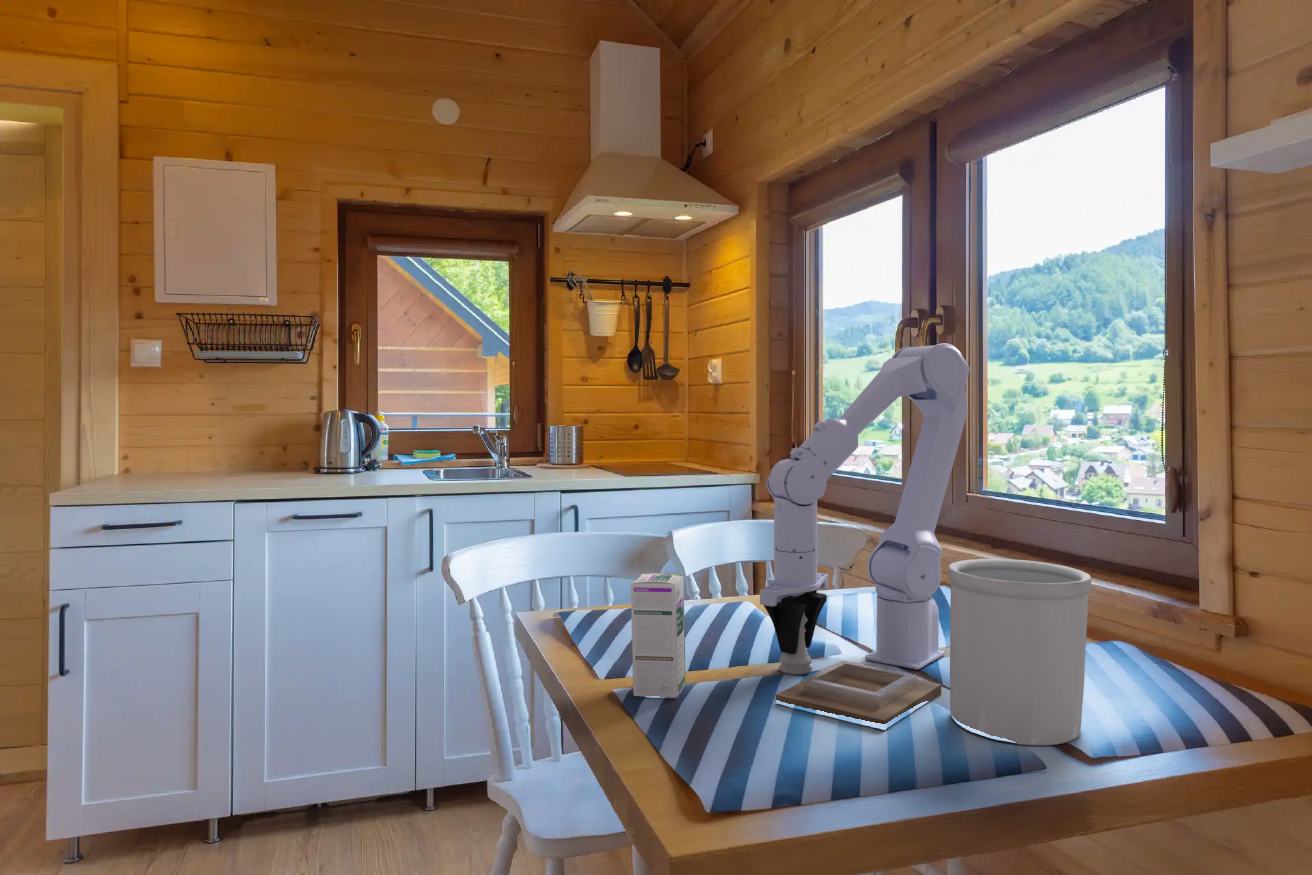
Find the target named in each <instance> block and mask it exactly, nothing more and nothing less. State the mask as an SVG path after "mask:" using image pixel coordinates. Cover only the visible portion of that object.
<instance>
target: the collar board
mask: <svg viewBox="0 0 1312 875" xmlns="http://www.w3.org/2000/svg"><path fill="white" fill-rule="evenodd" d="M941 695H942V683H937V682H933V681H927V680H922V679H918V678H917V674H911V673H907V672H902V671H897V670H892V669H888V668H882V667H878V666H872V665H867V664H862V663H856V662H852V661H847V660H840V661H838V662H837V663H834V664H832V665H830V666H828V667H826V668H824V669H821V670H819V671H817V672H815V673H813V674H811V675H809V676H807V677H805V678H803V679H802V681H801V682H799V683H797V684H794V685H792V686H791V687H788V688H786V689H784V690H782V691H781V692H778V693H776V694H775V701H776V700H779V701H781V702H785V703H788V704H794V705H796V706H801V707H804V708H809V709H810V708H811V709H813V710H820V711H824V712H827V713H832V714H833V713H834V714H836V715H844V716H846V717H852V718H855V719H861V720H865V721H870V722H875V723H881V724H886V723H888V722H889V721H891V720H892V719H894V718H895V717H898V715H901V714H902V713H904V712H906V711H907V710H909V709H911V708H913V707H914V706H916V705H918V704H920V703H922V702H925V701H929V702H928V703H930V702H931V701H933V700H934V699H936V698H937V697H939V696H941Z"/></svg>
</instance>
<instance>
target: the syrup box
mask: <svg viewBox="0 0 1312 875" xmlns="http://www.w3.org/2000/svg"><path fill="white" fill-rule="evenodd" d="M684 585H685V584H684V576H683V575H682V574H678V573H677V574H676V573H669V572H668V573H666V572H661V573H659V572H655V573H654V572H653V573H641V574H640V576H639V577H638V578H636V579H634V581H633V582H631V583H630V606H631V608H630V610H631V611H630V612H631V613H630V614H631V651H632V653H631V655H632V656H631V657H632V690H633V691H632V692H633V693H632V694H633V696H634V697H635V696H637V697H636V698H639V697H638V696H643V697H644V696H660V697H676V696H678V695H679V693H680V694H682V692H681V691H683V690H682V689H684V688H685V687H686V685H687V683H686V681H687V680H686V678H687V677H686V674H687V673H686V634H685V633H686V632H685V595H684V594H685V593H684V592H685V591H684V590H685V589H684V588H685V586H684ZM683 687H684V688H683ZM679 696H680V695H679ZM679 696H678V697H679Z"/></svg>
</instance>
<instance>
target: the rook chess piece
mask: <svg viewBox="0 0 1312 875" xmlns="http://www.w3.org/2000/svg"><path fill="white" fill-rule="evenodd" d="M807 621H808V619H807V617H806V616H805V612H804V614H803V617H802V620H801V624H800V629H799V640H798V648H797V652H796V653H795V654H789V653H784V652H782V654H781V655H780V657H779V662H780V664H779V665H778V668H779V670H780V671H781V672H782V673H783V674H785V675H790V676H802V675H801V674H805V675H807V673H808V674H809V673H810V672H811V671H812V670H813V666H811V663H813V662H812V658H811V656H810V655H809V652H808V651H807V648H806V646H805V632H806V630H805V628H804V625H805V623H806V622H807Z"/></svg>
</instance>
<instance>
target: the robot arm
mask: <svg viewBox="0 0 1312 875" xmlns="http://www.w3.org/2000/svg"><path fill="white" fill-rule="evenodd" d="M970 370H971V369H970V366H969V364H968V363H967V361H966V359H965V358H964V356H963V355H962V353H961V351H960V350H959V349H958V348H957V347H956V346H955V345H953V344H950V343H946V342H945V343H938V344H935V345H924V346H923V345H922V346H916V347H915V346H904V347H901V348H900V349H898V350H896V351H895V352H894V354H893V355H892V357H891V358H889V359H887V360H885V361H884V362H883V363H882V366H881V367H880V369H879V372H878V373H877V374H876V375H875V376H874V377H873V379H872V380H871V381H870V382H869V383H868V384H867V386H866V387H865V388H863V390H862V391H861V393H860V394H859V395H858V396H857V397H856V398H855V399H854V401H853V402H852V403H851V404H850V405H849V406H848V407H847V409H846V410H845V411H844V412H843V413H842V415H841V416H839V418H836V417H835V418H834V417H832V418H831V417H830V418H826V419H825V420H824V421H823V420H822V421H820V420H819V421H817V422H816V423H815V424H814V425H813V427H812V428H813V430H814V431H813V432H812V433H811V434H810V435H809V436H808V438H807V439H805V440H804V441H803V442H802V444H801V445H799V446H798V447H794V448H793V449H792V450H791V451H790V452H789V454H790V458H787V459H786V458H785V459H782V460H780V461H778V462H777V463H776V464H774V465H773V467H772V468H771V470H770V472H769V473H770V474H769V475H768V478H767V479H766V480H765V485H766V488H767V490H768V492H769V494H770V495H771V497H772V499H773V506H774V507H773V508H774V509H773V557H774V558H773V566H774V567H773V573H774V574H773V577H770V578H767V579H766V580H767V586H766V587H764V588H761V589H759V604H760V605H762V606H763V607H764V608H765V609H764V610H766V612H767V614H768V615H769V618H770V620H771V622H772V625H773V628H774V632H775V635H776V638H777V642H778V646H779V650H780V652H781V653H783V652H784V653H789V654H795V653H796V652H797V648H798V640H799V629H800V624H801V620H802V617H803V614H804V612H805V616H806V617H807V619H808V621H807V622H806V623H805V625H804V628H805V630H806V632H805V646H806V649H810V648H811V645H812V642H813V637H814V633H815V628H816V626H817V623H818V619H819V617H820V614H821V613H822V612H821V611H822V610H823V608H824V606H825V604H826V602H827V599H828V598H827V594H826V593H823V592H822V593H820V592H818V590H820V589H822V590H824V589H825V590H826V589H828V588H829V574H828V573H821V572H818V500H819V499H822V497H823V496H824V495H825V492H826V489H827V485H828V484H827V482H828V480H829V478H830V477H831V476H833V474H834V473H835V472H836V471H837V470H838V469H839V468H840V467H841V465H843V464H844V463H845V462H846V461H847V460H848V459H849V458H850V457H851V455H853V453H855V451H856V450H857V449H858V448H859V435H860V434H861V433H862V432H863V431H864V430H865V429H866V428H867V427H868V426H869V425H870V424H871V423H873V421H874V420H876V419H877V418H878V417H879V416H880V415H881V414H883V412H884V411H886V410H887V409H888V408H889V407H890V406H891V405H892V404H893V403H894V402H895V401H896V400H897V399H898V398H901V397H906V396H907V397H908V398H909V399H910V400H911V401H912V402H913V403H914V404H915V405H916V406H917V408H918V410H919V411H920V412H921V414H922V416H923V420H922V424H921V427H920V431H919V435H918V438H917V442H916V446H915V449H914V452H913V456H912V460H911V462H910V463H911V464H910V467H909V470H908V474H907V477H906V481H905V484H904V489H903V492H902V496H901V499H900V502H899V505H898V510H897V512H896V513H897V514H896V516H895V521H894V523H892V525H890V526H889V527H888V528H887V529H885V530H884V531H883V532H882V533H881V535H880V539H879V541H878V543H877V546H876V547H875V548H874V549H873V550H872V551H871V553H870V554H869V556H868V559H867V565H866V566H867V567H866V569H867V573H868V576H869V578H870V580H871V582H872V583H874V585H875V593H876V650H873V651H871V652H870V653H868V654H866V655H865V656H864V659H865V661H866V660H867V661H873V662H876V663H883V664H887V665H892V666H897V667H902V668H909V669H912V670H913V669H914V670H920V669H922V668H923V667H926V666H927V665H929V664H931V663H933V662H934V661H936V660H938V659H939V658H941V657H943V656H945V655H946V652H945V650H940V649H939V632H940V631H939V630H940V629H939V628H940V626H939V624H940V621H939V620H940V618H939V615H940V614H939V612H940V611H939V607H938V605H937V604H938V603H937V602H936V601H935V599H934V598H933V595H934V594H935V593H936V592H937V590H938V589H939V588H940V584H941V581H942V568H941V559H942V555H943V549H942V547H941V545H940V543H939V541H938V539H937V538H936V536H935V531H936V528H937V524H938V520H939V516H940V513H941V510H942V506H943V502H944V498H945V495H946V491H947V488H948V484H949V481H950V478H951V473H952V469H953V466H954V462H955V459H956V455H957V452H958V449H959V444H960V441H961V438H962V434H963V430H964V427H965V424H966V420H967V415H968V402H967V393H966V392H967V391H966V384H967V380H968V377H969V373H970ZM930 662H931V663H930ZM928 663H929V664H928ZM925 665H926V666H925Z"/></svg>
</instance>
